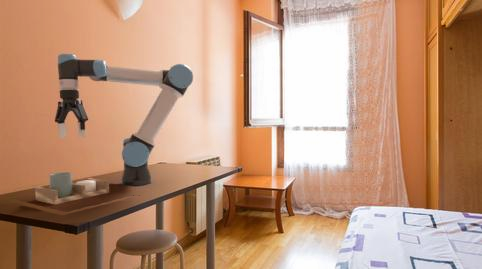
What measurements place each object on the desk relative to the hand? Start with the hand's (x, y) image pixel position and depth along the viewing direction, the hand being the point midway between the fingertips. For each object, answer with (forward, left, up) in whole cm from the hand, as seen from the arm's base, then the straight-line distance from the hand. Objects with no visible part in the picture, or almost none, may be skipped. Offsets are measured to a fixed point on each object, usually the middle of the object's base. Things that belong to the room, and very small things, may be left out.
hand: (72, 137), depth 143 cm
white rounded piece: (+1, +12, -24) cm, 26 cm away
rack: (+7, +12, -25) cm, 28 cm away
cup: (+12, +12, -24) cm, 29 cm away
